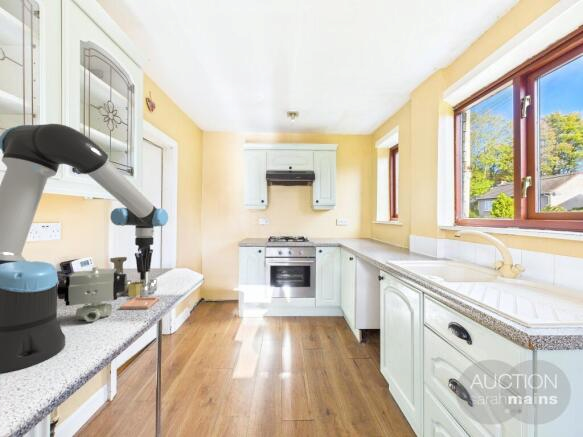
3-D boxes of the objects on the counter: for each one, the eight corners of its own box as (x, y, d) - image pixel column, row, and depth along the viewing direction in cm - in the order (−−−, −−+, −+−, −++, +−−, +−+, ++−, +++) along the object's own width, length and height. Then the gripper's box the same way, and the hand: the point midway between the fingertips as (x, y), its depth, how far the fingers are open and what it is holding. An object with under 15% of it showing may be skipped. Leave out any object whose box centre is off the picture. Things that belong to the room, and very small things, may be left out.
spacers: (144, 300, 104) (144, 288, 104) (106, 300, 103) (106, 288, 103) (159, 289, 119) (160, 279, 119) (127, 289, 118) (127, 279, 118)
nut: (140, 296, 109) (140, 284, 109) (124, 296, 108) (124, 284, 108) (146, 292, 115) (146, 281, 114) (131, 292, 114) (131, 281, 114)
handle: (127, 289, 118) (127, 258, 118) (110, 292, 113) (111, 259, 113) (125, 287, 121) (125, 256, 121) (109, 289, 117) (109, 258, 117)
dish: (147, 309, 95) (147, 306, 95) (120, 309, 94) (120, 306, 94) (159, 300, 105) (159, 297, 105) (134, 300, 104) (134, 297, 104)
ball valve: (54, 329, 78) (55, 272, 77) (64, 318, 85) (64, 267, 85) (123, 318, 86) (124, 268, 86) (126, 310, 94) (127, 263, 93)
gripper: (146, 238, 112) (145, 289, 112) (158, 235, 125) (157, 282, 125) (128, 237, 111) (127, 289, 112) (143, 235, 124) (142, 282, 125)
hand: (143, 285), depth 119 cm, fingers closed
